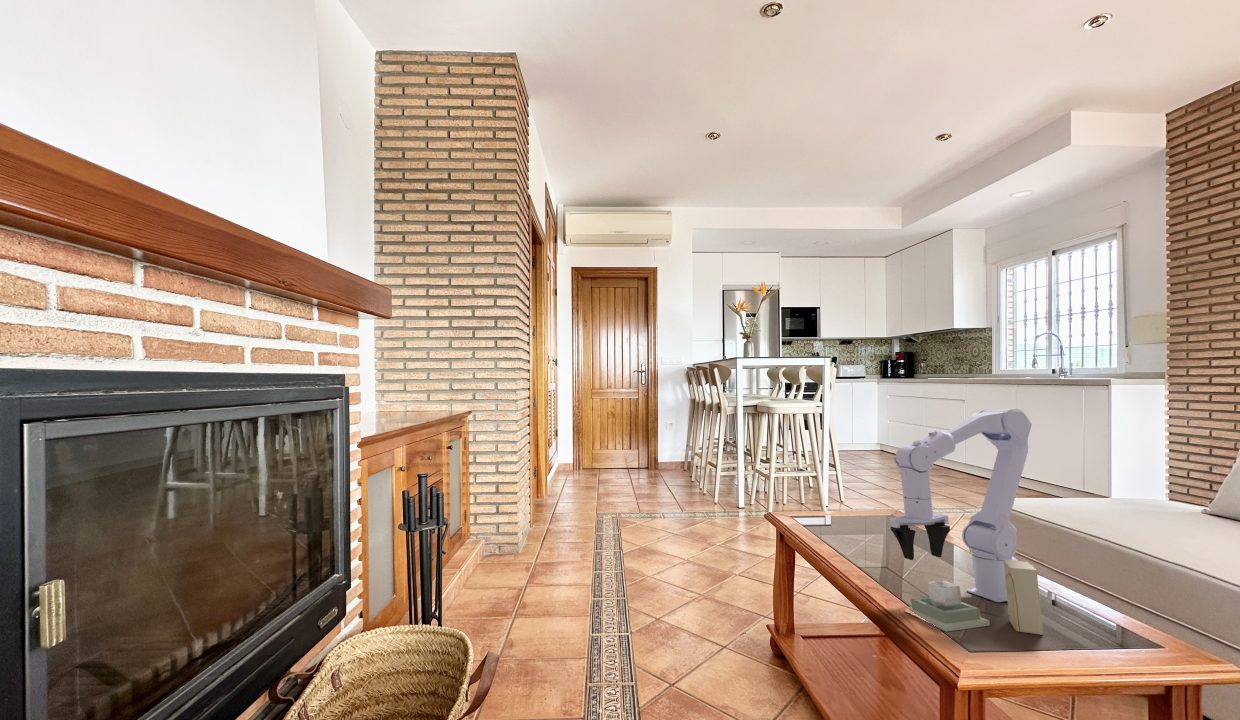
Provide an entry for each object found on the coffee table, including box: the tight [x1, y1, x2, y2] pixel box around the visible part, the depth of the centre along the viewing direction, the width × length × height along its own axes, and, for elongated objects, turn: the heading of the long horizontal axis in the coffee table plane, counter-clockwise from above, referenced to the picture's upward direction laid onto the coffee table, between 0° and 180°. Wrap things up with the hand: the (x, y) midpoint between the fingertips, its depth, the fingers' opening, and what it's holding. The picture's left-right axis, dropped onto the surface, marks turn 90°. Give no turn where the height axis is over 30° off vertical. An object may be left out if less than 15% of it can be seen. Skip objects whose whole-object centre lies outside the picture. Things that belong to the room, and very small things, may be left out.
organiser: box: [906, 596, 991, 632], centre depth 104 cm, size 10×10×3 cm
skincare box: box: [1003, 560, 1044, 636], centre depth 99 cm, size 6×4×12 cm
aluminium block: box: [927, 579, 962, 611], centre depth 104 cm, size 4×4×6 cm
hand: (922, 557), depth 116 cm, fingers open, 7 cm apart
